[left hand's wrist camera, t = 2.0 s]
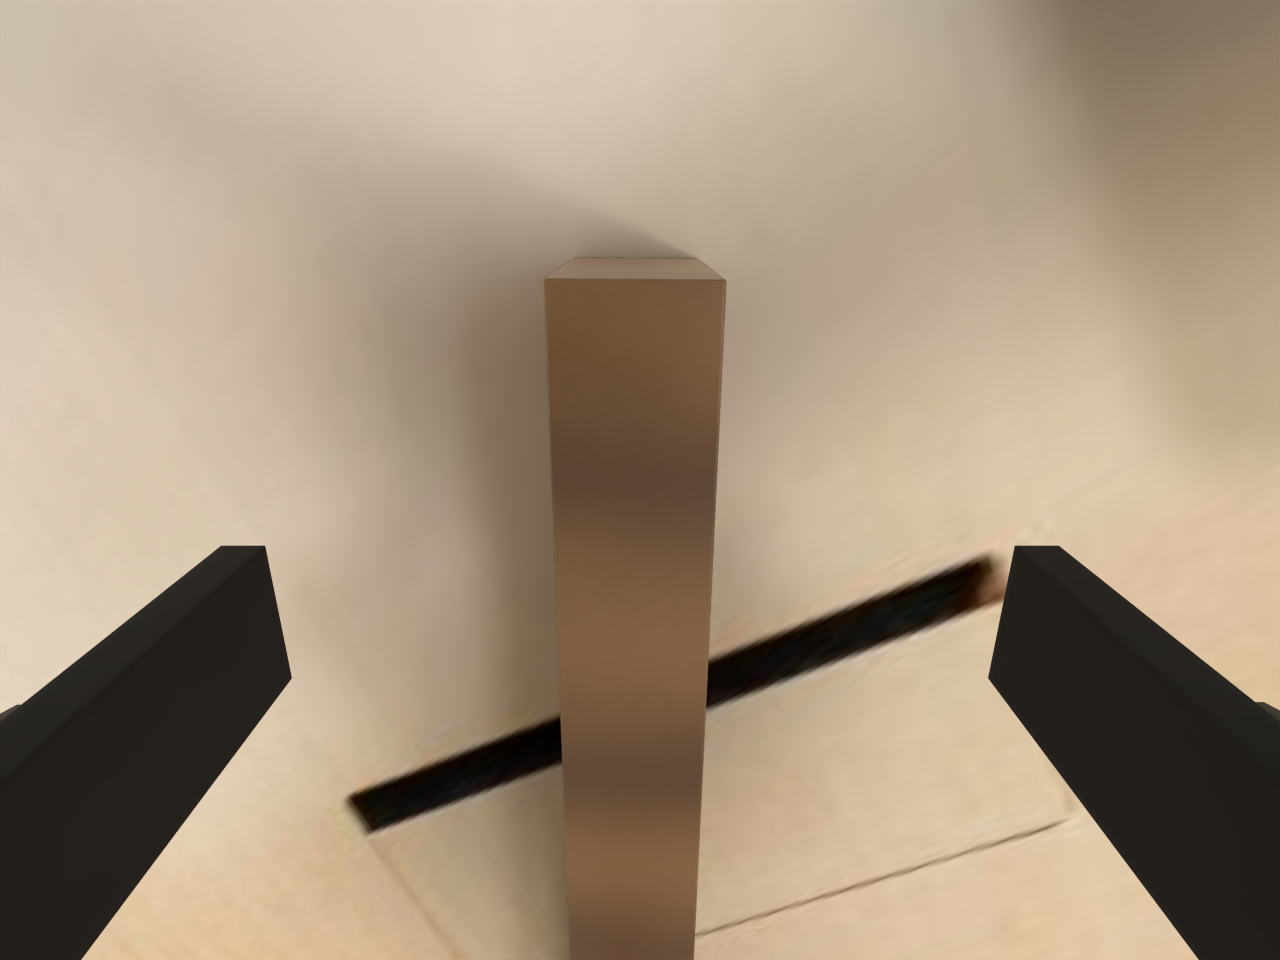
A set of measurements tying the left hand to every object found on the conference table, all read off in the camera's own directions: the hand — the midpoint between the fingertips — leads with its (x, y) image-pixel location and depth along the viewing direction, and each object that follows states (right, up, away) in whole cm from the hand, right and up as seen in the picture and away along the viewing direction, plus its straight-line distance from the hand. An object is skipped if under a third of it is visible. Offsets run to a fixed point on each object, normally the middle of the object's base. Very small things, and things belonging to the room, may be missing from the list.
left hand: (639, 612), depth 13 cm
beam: (0, -22, +25) cm, 33 cm away
